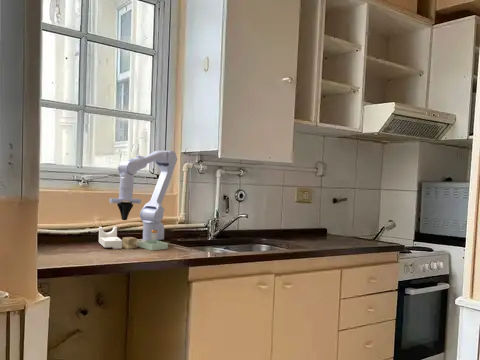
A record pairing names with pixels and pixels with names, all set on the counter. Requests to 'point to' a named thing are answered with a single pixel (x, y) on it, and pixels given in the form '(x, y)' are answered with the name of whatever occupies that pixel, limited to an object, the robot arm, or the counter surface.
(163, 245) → the tray
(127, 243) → the chock
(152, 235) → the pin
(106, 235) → the bracket
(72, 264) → the counter surface
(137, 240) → the keeper
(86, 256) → the counter surface
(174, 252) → the counter surface
